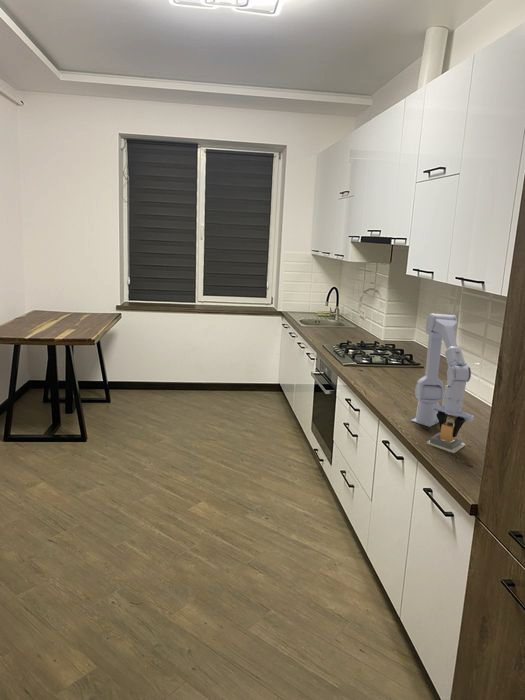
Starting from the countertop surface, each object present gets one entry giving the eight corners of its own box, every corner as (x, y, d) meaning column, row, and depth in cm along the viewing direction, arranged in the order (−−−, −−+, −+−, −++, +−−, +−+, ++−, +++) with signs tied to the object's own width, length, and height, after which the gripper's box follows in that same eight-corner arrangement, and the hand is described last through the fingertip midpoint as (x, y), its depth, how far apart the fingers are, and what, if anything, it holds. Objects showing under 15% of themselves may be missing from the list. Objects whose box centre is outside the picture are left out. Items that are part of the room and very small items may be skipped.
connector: (447, 433, 189) (450, 418, 187) (458, 436, 186) (461, 421, 185) (439, 438, 183) (442, 422, 182) (450, 441, 181) (453, 425, 179)
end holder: (438, 437, 191) (439, 429, 190) (464, 445, 184) (466, 438, 184) (426, 443, 183) (427, 436, 183) (453, 453, 177) (455, 445, 176)
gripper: (430, 394, 182) (424, 430, 185) (471, 406, 173) (464, 443, 176) (438, 391, 187) (432, 426, 190) (478, 402, 178) (471, 438, 181)
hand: (448, 434), depth 183 cm, fingers closed on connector, 4 cm apart
